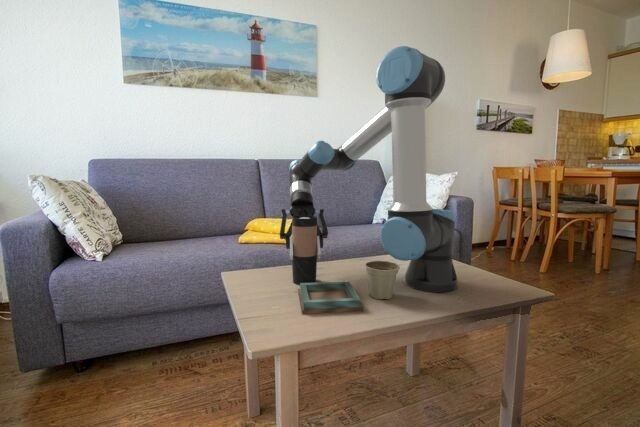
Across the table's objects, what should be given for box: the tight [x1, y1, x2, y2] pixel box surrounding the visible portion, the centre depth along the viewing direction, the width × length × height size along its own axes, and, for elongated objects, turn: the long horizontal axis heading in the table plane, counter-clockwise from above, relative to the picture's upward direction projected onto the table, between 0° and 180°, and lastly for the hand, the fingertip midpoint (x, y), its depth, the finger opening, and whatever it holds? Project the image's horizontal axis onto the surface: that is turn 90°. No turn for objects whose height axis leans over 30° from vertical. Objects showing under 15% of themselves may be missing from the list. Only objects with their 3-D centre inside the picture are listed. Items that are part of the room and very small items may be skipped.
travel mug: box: [291, 215, 318, 286], centre depth 103 cm, size 8×8×20 cm
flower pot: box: [364, 260, 401, 300], centre depth 92 cm, size 9×9×9 cm
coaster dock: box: [297, 281, 364, 315], centre depth 89 cm, size 15×15×3 cm
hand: (305, 256), depth 99 cm, fingers closed on travel mug, 7 cm apart
